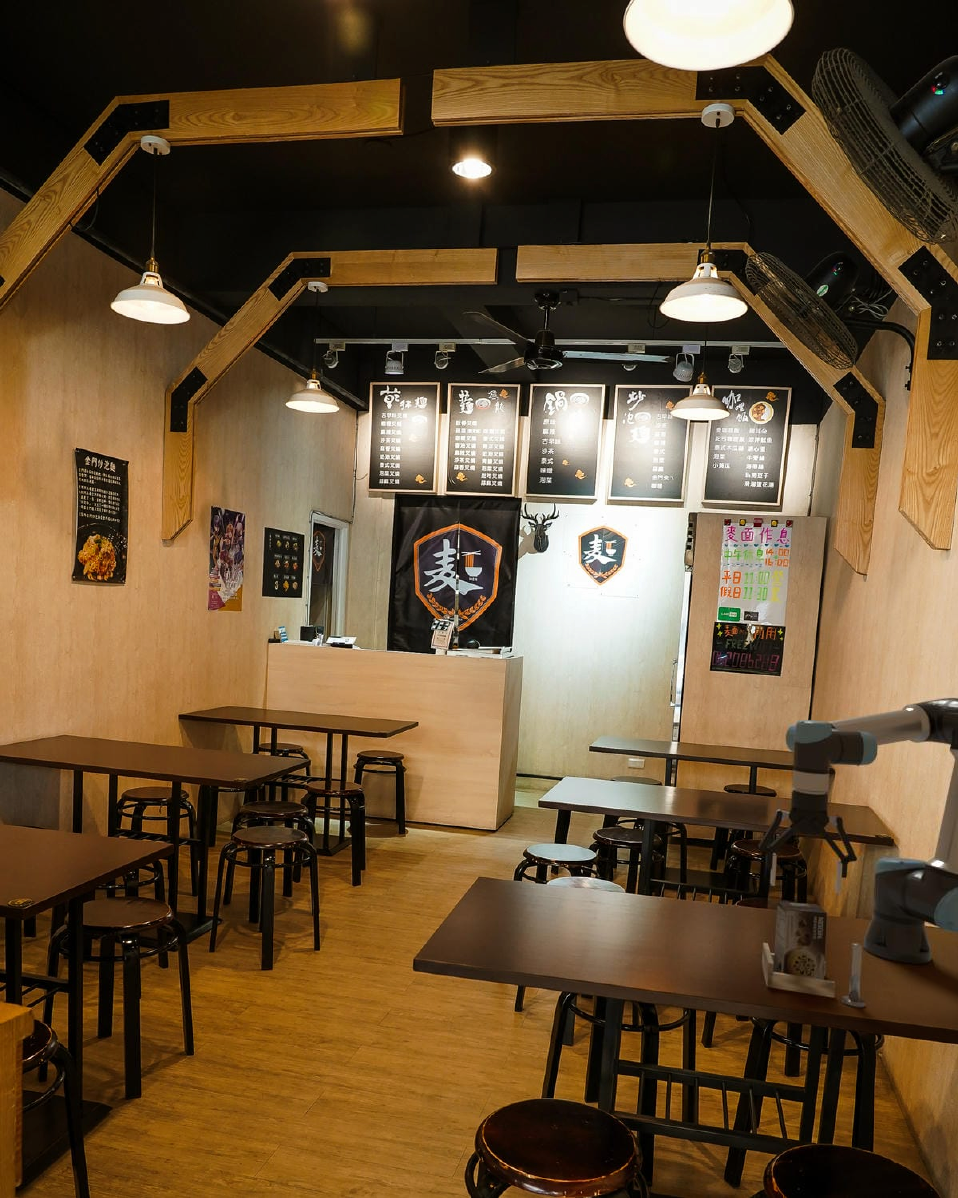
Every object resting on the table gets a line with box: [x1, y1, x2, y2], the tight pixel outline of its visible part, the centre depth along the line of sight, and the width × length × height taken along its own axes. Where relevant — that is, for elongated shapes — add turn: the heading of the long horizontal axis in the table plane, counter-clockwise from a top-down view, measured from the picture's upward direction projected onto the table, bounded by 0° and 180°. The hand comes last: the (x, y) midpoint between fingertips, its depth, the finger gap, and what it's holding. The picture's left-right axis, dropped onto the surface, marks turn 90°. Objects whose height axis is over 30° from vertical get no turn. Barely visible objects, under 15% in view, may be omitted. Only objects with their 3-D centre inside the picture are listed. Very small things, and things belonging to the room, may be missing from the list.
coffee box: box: [773, 901, 828, 980], centre depth 195 cm, size 9×6×16 cm
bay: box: [761, 942, 836, 999], centre depth 195 cm, size 14×14×5 cm
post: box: [841, 942, 866, 1009], centre depth 185 cm, size 4×4×12 cm
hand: (805, 888), depth 196 cm, fingers open, 13 cm apart
